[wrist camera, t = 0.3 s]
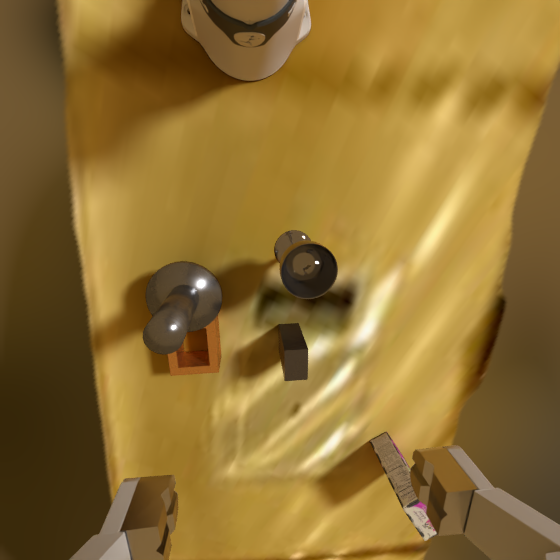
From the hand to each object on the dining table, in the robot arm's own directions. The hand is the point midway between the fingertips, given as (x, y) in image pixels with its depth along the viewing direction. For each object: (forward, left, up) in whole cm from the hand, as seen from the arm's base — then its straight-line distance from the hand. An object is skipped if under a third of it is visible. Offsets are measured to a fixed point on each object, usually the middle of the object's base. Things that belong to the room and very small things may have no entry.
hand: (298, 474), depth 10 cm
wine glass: (+2, +7, -47) cm, 47 cm away
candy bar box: (+52, +30, -47) cm, 76 cm away
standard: (+13, -12, -47) cm, 50 cm away
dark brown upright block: (+20, +6, -47) cm, 51 cm away
